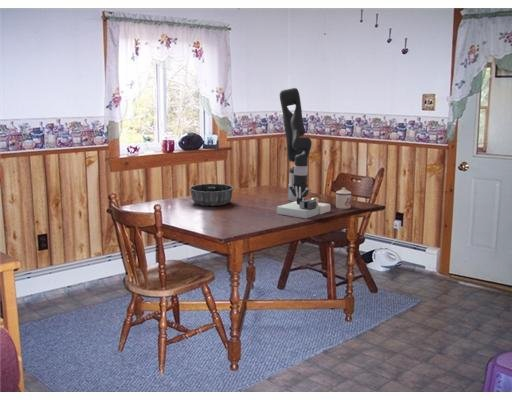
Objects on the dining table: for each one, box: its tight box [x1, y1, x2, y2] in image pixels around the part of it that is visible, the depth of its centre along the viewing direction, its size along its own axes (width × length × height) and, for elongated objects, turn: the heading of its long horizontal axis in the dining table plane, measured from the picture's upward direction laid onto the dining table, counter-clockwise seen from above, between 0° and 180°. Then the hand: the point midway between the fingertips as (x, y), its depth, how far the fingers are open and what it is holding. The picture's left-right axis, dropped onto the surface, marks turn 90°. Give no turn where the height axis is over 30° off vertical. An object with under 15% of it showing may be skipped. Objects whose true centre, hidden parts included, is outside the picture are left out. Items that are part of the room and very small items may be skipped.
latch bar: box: [300, 196, 320, 208], centre depth 344 cm, size 14×4×4 cm, turn 140°
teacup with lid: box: [335, 187, 352, 210], centre depth 364 cm, size 12×9×12 cm
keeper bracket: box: [307, 201, 316, 210], centre depth 339 cm, size 2×6×4 cm, turn 144°
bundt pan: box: [189, 183, 235, 207], centre depth 371 cm, size 26×26×10 cm
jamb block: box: [291, 200, 331, 215], centre depth 354 cm, size 20×11×4 cm, turn 54°
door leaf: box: [276, 202, 319, 219], centre depth 344 cm, size 19×13×4 cm
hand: (299, 204), depth 343 cm, fingers closed
